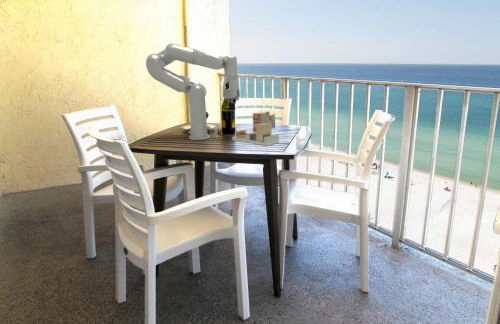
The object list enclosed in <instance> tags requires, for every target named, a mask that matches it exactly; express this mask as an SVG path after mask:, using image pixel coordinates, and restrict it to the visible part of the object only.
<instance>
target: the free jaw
mask: <svg viewBox="0 0 500 324" xmlns="http://www.w3.org/2000/svg"><path fill="white" fill-rule="evenodd" d="M244 135H247V139H249V140H251V139H255V138H256V132H253V131H252V132H247V130H246V129H242V130H236V131H235V136H236V137H239V136H244Z"/></svg>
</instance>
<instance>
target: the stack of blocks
mask: <svg viewBox="0 0 500 324" xmlns="http://www.w3.org/2000/svg"><path fill="white" fill-rule="evenodd" d="M261 123H271V130H272V129H275V128H276V114H275V113H270V110H260V111H256V112H253V113H252V126H253V127H252V133H253V132H256V124H261Z"/></svg>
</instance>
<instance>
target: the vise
mask: <svg viewBox="0 0 500 324" xmlns="http://www.w3.org/2000/svg"><path fill="white" fill-rule="evenodd" d="M231 139H232V141H237V142H243V143H248V144H256V145H260V146H266V147H268V146H272V145H276V144H279V143H280V134H271V136H267V137H264V142H262V141H256V138H255V139H251V140H249V139H247V135H244V136H239V137H236V135H234V136H232V137H231Z"/></svg>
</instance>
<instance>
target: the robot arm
mask: <svg viewBox="0 0 500 324" xmlns="http://www.w3.org/2000/svg"><path fill="white" fill-rule="evenodd" d="M175 61H179V62H182V63H185V64H190V65H194V66H199V67H203V68H206V69H207V68H208V69H212V70H216V71H217V70H223V72H224V73H223V74H224V76H223V78H224V81H223V84H222V85H223V86H222V97H223V98H224V100H226V101H227V103H228V108H229V111H235V110H236V103H237V101H239V100H240V96H241V95H240V94H241V93H240V84H239V80H238V58H237V56H235V55H227V56H226V55H225V56H222V55H220V56H219V55H215V54H211V53H207V52H203V51H200V50H198V49H195V48H192V47H187V46H183V45H180V44H177V43H169V44H167V45H166V46H165V48H164V50H161V51H160V52H158V53H151V54H149V55H148V56H147V57H146V60H145V66H146V67H145V68H146V70H147V72H148V74H149V75H150V77H151V78H152V79H154V80H155V81H157V82H159V83H160V84H163V85H164V86H166V87H167V88H170V89H171V90H173V91H175V92H178V93H184V94H186V95H187V97H188V107H189V108H188V109H189V121H190V130H189V131H188V132H187V133H188V134H190V135H189V136H188V140H192V141H201V140H202V141H203V140H208V139H210V138H211V135H209V134H208V127H207V126H208V123H207V122H208V121H207V106H206V95H207V93H208V92H207V88H206V86H205V85H204V84H201V83H200V82H198V81H196V80H194V79H193V78H191V77H188V76H187V75H181V74H177V73H174V72H172V71H171V70H169V69H167V68H166V67H168V65H171V64H172V63H174V62H175ZM227 82H229V88H228V89H226V86H225V84H226V83H227Z"/></svg>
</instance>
